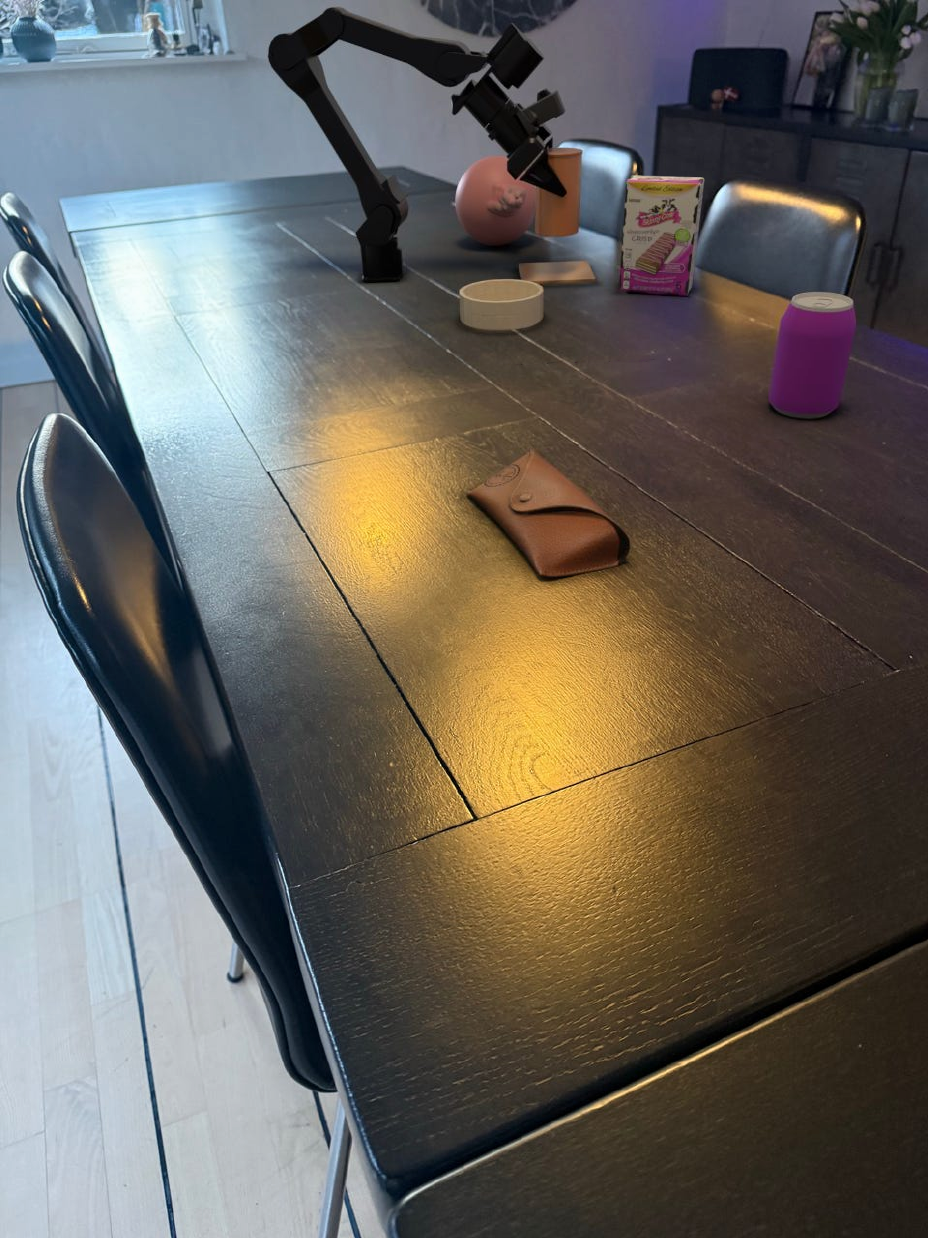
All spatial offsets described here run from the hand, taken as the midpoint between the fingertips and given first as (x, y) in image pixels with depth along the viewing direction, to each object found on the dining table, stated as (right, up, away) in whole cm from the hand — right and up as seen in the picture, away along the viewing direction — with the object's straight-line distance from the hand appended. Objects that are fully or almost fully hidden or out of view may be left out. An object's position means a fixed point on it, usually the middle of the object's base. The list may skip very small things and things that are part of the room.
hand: (566, 190), depth 144 cm
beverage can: (+22, -45, -42) cm, 66 cm away
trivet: (-1, -11, +8) cm, 14 cm away
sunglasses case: (-9, -61, -63) cm, 88 cm away
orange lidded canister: (-1, -5, +4) cm, 6 cm away
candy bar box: (+14, -17, -1) cm, 22 cm away
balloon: (-10, +2, +27) cm, 29 cm away
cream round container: (-11, -25, -11) cm, 29 cm away
